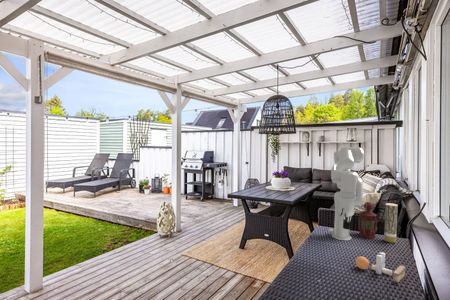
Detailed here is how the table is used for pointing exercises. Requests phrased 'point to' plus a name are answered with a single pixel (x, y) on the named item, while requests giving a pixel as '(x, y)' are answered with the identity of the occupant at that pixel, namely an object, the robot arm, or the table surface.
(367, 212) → the lantern
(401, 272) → the back wall
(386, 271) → the front pin
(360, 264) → the ball
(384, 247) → the table surface
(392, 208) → the paper tube
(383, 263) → the back pin left
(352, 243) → the table surface
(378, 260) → the back pin right
